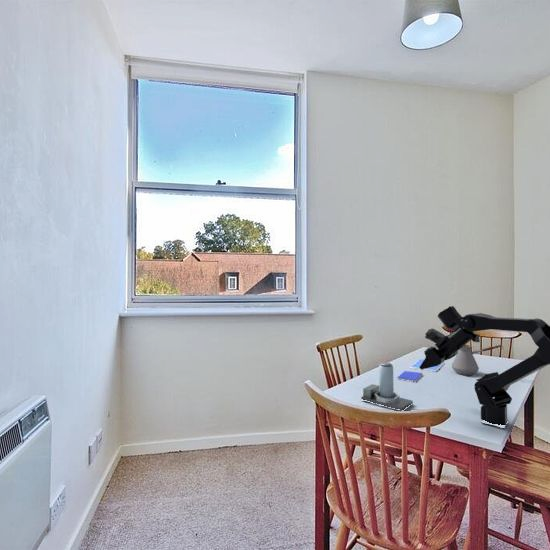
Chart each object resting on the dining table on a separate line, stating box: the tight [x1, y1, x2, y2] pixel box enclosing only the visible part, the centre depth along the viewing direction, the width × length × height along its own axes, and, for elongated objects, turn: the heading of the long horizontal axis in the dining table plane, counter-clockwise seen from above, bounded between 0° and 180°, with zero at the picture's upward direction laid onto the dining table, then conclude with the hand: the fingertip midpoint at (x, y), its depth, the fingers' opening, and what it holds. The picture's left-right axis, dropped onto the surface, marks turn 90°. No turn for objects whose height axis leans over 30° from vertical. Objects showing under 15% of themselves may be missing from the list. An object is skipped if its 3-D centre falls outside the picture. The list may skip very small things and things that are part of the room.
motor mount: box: [360, 383, 414, 411], centre depth 135 cm, size 16×9×4 cm, turn 46°
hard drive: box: [396, 370, 423, 383], centre depth 166 cm, size 2×8×12 cm
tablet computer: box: [409, 358, 445, 373], centre depth 184 cm, size 19×13×1 cm, turn 144°
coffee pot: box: [451, 344, 505, 376], centre depth 168 cm, size 21×12×15 cm, turn 53°
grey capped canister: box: [378, 362, 395, 398], centre depth 135 cm, size 5×5×13 cm
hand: (425, 365), depth 134 cm, fingers open, 9 cm apart
